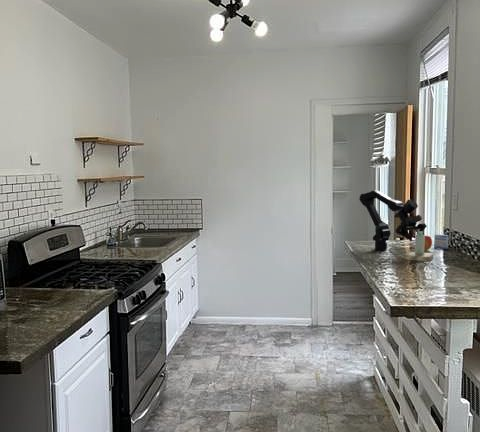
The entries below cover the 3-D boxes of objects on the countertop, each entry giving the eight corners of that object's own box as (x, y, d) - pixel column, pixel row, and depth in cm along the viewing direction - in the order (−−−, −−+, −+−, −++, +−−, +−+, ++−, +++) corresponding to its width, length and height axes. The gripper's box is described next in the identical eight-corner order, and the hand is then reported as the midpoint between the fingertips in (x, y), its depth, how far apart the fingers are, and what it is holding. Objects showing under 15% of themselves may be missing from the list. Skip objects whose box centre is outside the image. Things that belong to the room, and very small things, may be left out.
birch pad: (405, 259, 268) (405, 255, 268) (409, 255, 279) (409, 251, 279) (429, 261, 262) (430, 257, 261) (433, 257, 273) (433, 253, 273)
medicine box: (433, 248, 304) (434, 234, 304) (434, 247, 308) (435, 234, 307) (447, 249, 301) (447, 235, 300) (447, 248, 305) (448, 234, 304)
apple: (434, 252, 290) (434, 236, 289) (418, 252, 290) (419, 236, 289) (428, 249, 299) (428, 233, 298) (413, 249, 300) (413, 233, 299)
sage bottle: (418, 255, 267) (418, 232, 266) (413, 253, 272) (413, 231, 271) (425, 254, 268) (426, 231, 267) (420, 253, 273) (421, 230, 272)
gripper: (399, 210, 271) (412, 232, 262) (425, 209, 278) (438, 230, 269) (389, 222, 279) (402, 244, 270) (414, 221, 286) (427, 242, 277)
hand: (417, 240), depth 271 cm, fingers open, 9 cm apart
